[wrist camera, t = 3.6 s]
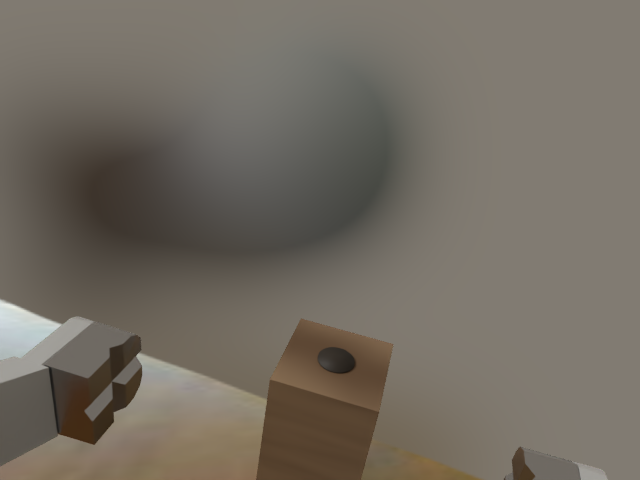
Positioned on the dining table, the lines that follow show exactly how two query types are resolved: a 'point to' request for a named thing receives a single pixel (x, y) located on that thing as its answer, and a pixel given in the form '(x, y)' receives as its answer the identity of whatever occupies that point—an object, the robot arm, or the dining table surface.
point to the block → (323, 405)
